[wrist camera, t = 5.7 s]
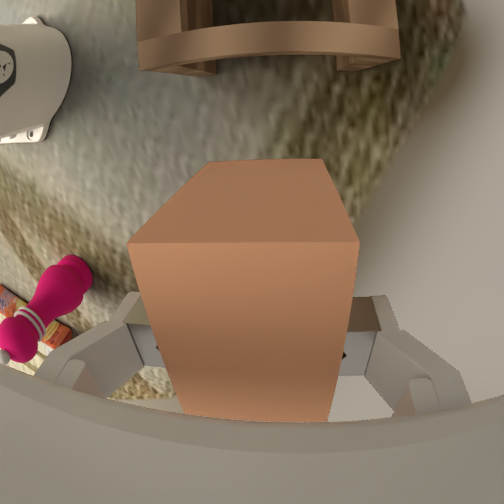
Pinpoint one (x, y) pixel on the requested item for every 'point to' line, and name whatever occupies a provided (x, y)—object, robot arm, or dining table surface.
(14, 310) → the snack package
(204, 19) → the stand
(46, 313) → the pepper mill
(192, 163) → the dining table surface
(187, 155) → the dining table surface
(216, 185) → the tall peach block
